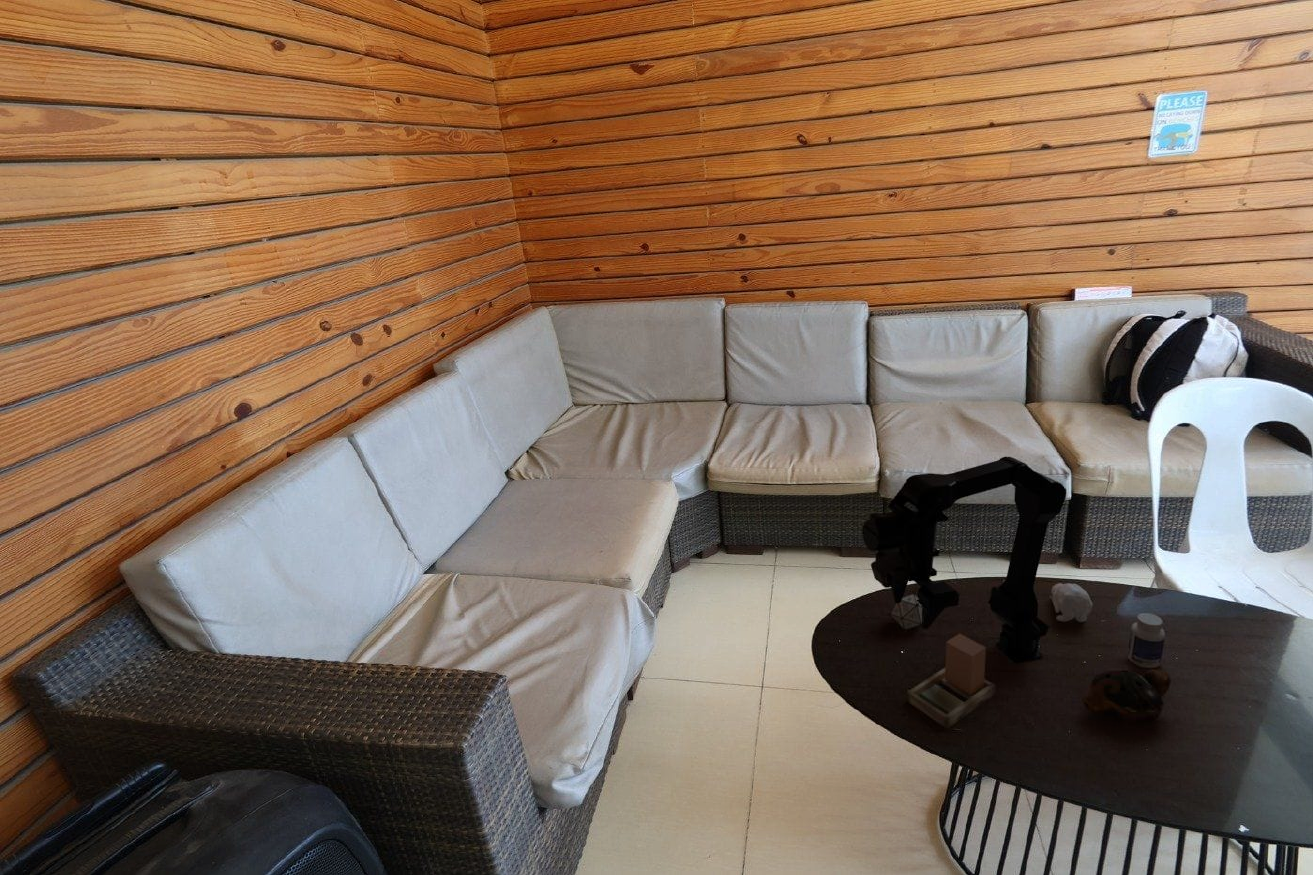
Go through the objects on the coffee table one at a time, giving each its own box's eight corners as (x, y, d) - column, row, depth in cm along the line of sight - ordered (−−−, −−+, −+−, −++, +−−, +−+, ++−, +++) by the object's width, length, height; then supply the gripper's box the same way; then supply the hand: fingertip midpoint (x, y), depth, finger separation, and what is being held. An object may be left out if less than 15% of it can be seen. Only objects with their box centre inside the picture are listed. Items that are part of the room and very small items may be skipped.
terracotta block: (958, 670, 135) (959, 633, 132) (983, 686, 130) (985, 647, 127) (945, 679, 133) (946, 641, 130) (970, 695, 128) (972, 656, 125)
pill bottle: (1167, 667, 131) (1174, 626, 128) (1138, 670, 131) (1145, 628, 128) (1148, 650, 136) (1154, 609, 133) (1121, 652, 136) (1126, 612, 133)
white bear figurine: (1062, 592, 143) (1043, 567, 154) (1060, 628, 145) (1042, 600, 156) (1095, 592, 141) (1074, 567, 153) (1093, 629, 143) (1072, 601, 155)
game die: (917, 643, 152) (936, 629, 143) (880, 631, 152) (897, 616, 144) (920, 607, 157) (938, 591, 148) (884, 596, 157) (901, 579, 149)
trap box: (953, 670, 137) (954, 661, 136) (994, 694, 130) (995, 685, 129) (906, 701, 131) (907, 692, 130) (947, 728, 123) (947, 719, 123)
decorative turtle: (1185, 720, 119) (1192, 685, 116) (1108, 743, 117) (1112, 709, 114) (1140, 681, 128) (1144, 649, 125) (1067, 702, 126) (1070, 670, 123)
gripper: (853, 527, 132) (849, 596, 137) (909, 572, 115) (901, 650, 120) (904, 520, 135) (897, 588, 139) (965, 563, 117) (956, 640, 122)
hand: (911, 615), depth 130 cm, fingers open, 9 cm apart
